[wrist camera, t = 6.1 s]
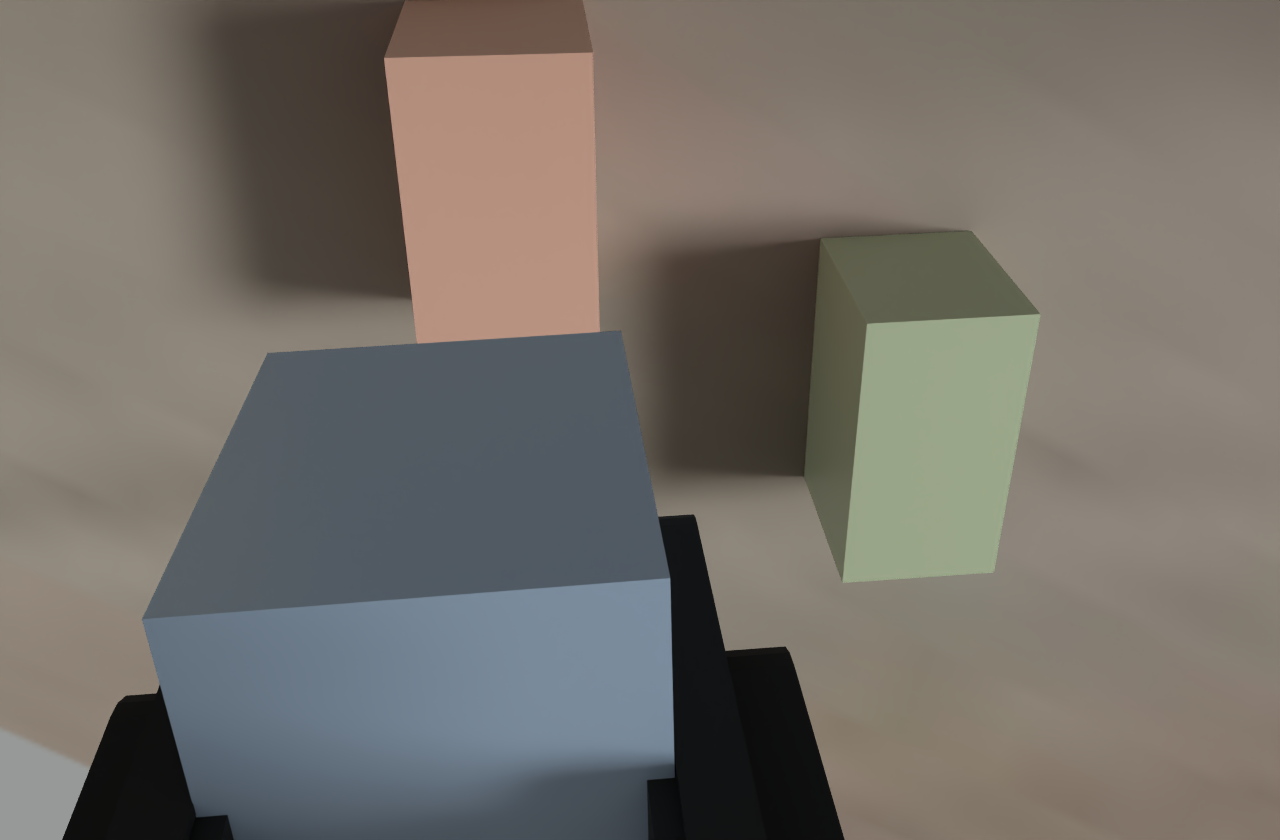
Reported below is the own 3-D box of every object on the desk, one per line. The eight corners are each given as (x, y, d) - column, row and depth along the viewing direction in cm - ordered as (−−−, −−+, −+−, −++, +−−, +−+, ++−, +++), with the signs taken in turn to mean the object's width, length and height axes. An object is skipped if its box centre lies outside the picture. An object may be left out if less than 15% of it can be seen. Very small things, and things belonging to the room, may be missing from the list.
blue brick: (621, 331, 11) (669, 579, 7) (640, 812, 14) (683, 1162, 10) (267, 352, 11) (141, 619, 7) (359, 837, 13) (302, 1204, 10)
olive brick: (969, 228, 25) (1040, 314, 21) (936, 465, 28) (993, 572, 25) (819, 236, 25) (867, 323, 21) (803, 473, 28) (842, 583, 24)
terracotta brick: (581, -5, 22) (592, 52, 18) (590, 291, 25) (600, 387, 21) (405, -1, 21) (384, 58, 18) (436, 298, 25) (423, 394, 21)
